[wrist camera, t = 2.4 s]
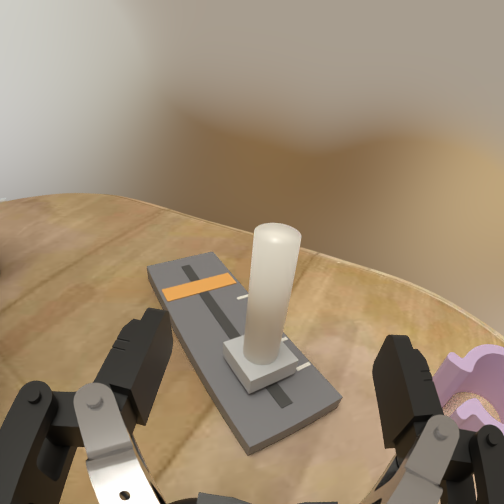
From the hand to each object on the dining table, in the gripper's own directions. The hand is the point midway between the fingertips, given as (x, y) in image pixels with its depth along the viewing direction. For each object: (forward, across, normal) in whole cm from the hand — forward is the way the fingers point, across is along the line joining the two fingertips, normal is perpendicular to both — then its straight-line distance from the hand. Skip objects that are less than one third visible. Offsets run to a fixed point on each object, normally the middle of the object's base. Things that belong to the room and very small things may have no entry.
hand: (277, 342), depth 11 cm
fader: (+11, 0, +15) cm, 19 cm away
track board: (+17, +4, +18) cm, 25 cm away
